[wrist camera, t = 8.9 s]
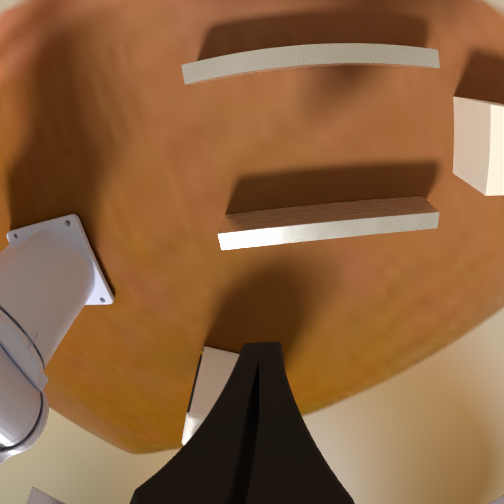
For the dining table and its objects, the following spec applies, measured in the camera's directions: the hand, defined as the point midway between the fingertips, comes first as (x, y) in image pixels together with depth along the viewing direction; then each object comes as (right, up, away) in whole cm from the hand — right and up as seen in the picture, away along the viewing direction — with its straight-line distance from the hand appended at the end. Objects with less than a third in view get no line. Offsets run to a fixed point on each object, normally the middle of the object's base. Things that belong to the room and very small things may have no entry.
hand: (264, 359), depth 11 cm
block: (+14, +11, +3) cm, 19 cm away
